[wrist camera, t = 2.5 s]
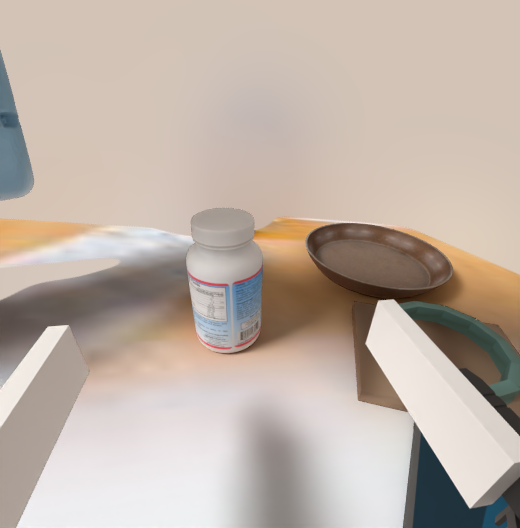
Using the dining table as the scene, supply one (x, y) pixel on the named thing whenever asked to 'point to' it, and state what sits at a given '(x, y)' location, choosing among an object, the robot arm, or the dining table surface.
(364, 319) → the holder board
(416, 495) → the smartphone
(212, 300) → the pill bottle
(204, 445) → the dining table surface
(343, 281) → the plant saucer
